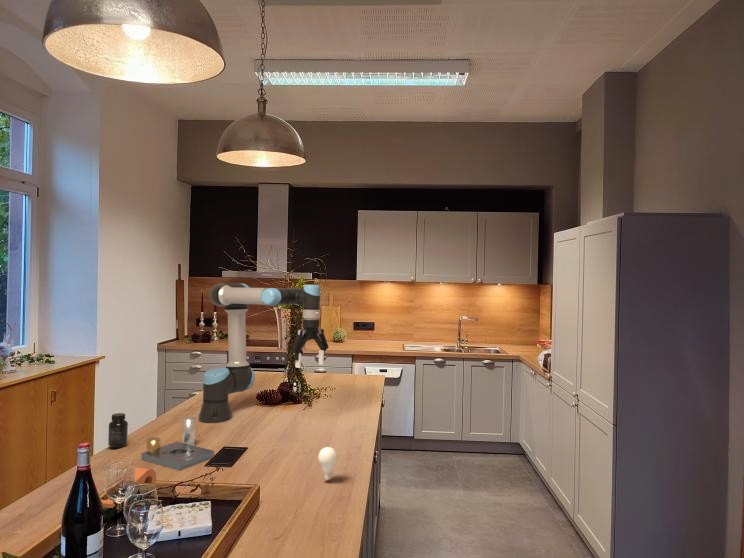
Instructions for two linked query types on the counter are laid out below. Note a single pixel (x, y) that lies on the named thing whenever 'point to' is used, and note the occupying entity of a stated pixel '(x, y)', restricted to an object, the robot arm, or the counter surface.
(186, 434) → the rounded peg
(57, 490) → the counter surface
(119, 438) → the supplement bottle
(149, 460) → the plate
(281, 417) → the counter surface
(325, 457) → the lightbulb
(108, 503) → the crank
